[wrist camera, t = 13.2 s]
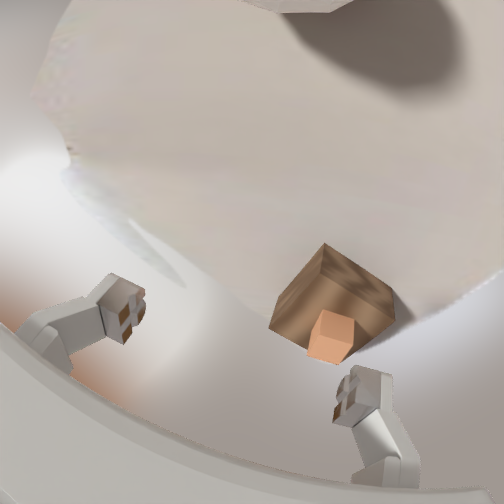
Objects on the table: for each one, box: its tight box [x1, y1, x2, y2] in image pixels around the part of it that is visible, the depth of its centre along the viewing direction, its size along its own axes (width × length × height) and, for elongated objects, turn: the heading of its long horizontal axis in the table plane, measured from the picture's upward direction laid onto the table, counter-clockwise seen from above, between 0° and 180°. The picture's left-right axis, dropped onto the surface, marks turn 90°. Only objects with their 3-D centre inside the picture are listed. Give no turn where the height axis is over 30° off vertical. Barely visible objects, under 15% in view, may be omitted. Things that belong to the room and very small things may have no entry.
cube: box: [307, 309, 354, 365], centre depth 42 cm, size 5×5×5 cm
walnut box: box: [269, 243, 395, 363], centre depth 47 cm, size 14×14×8 cm
